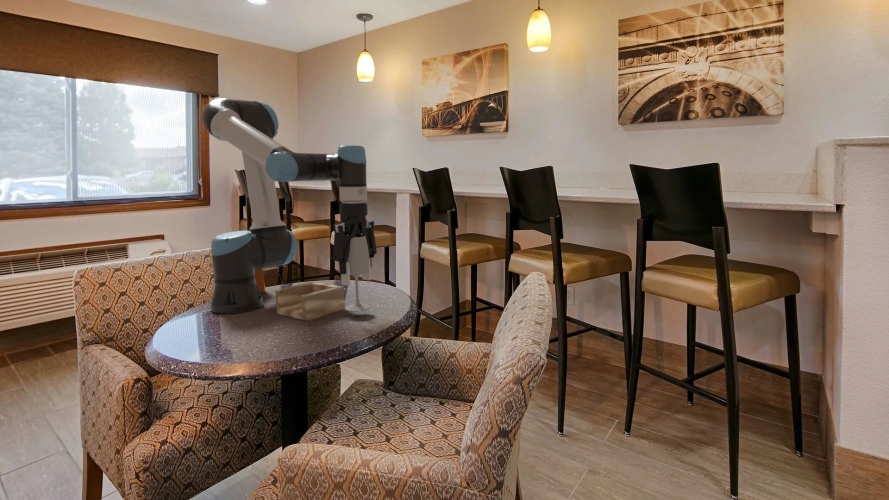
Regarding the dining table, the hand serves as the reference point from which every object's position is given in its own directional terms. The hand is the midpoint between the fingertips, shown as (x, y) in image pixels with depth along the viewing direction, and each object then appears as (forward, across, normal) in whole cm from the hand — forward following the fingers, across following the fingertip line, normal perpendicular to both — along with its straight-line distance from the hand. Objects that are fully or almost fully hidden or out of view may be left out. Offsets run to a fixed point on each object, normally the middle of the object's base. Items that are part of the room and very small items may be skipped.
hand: (356, 282), depth 143 cm
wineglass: (+8, 0, 0) cm, 8 cm away
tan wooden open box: (+10, -4, +15) cm, 19 cm away
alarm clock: (+11, -2, +52) cm, 54 cm away
